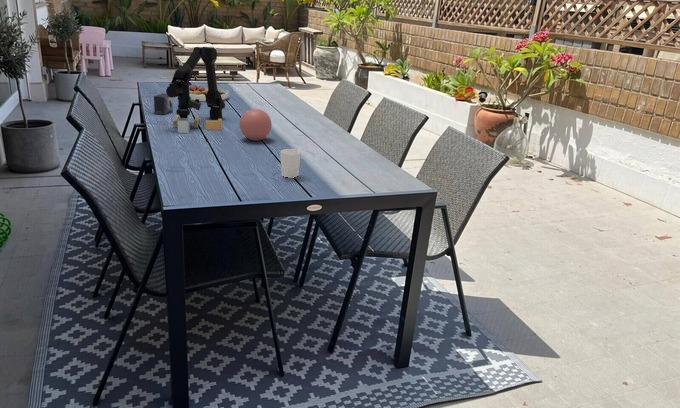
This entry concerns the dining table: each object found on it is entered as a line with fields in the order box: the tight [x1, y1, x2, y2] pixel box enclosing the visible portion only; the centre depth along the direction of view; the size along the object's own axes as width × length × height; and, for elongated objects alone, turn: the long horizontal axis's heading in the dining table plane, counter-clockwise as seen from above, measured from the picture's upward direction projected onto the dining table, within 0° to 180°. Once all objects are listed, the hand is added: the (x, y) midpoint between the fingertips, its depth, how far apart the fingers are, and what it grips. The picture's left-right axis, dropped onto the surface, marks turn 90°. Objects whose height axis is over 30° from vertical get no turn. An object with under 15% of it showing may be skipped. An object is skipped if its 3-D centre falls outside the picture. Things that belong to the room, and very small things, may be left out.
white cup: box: [280, 148, 302, 179], centre depth 214 cm, size 8×8×10 cm
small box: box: [153, 93, 174, 116], centre depth 310 cm, size 11×6×10 cm, turn 168°
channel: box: [172, 114, 200, 129], centre depth 288 cm, size 12×16×4 cm
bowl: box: [189, 84, 230, 103], centre depth 361 cm, size 30×30×8 cm
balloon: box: [239, 108, 272, 142], centre depth 265 cm, size 15×20×15 cm
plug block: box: [177, 117, 191, 134], centre depth 273 cm, size 5×8×6 cm, turn 10°
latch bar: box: [205, 118, 223, 131], centre depth 280 cm, size 8×2×6 cm, turn 100°
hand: (185, 125), depth 280 cm, fingers closed
